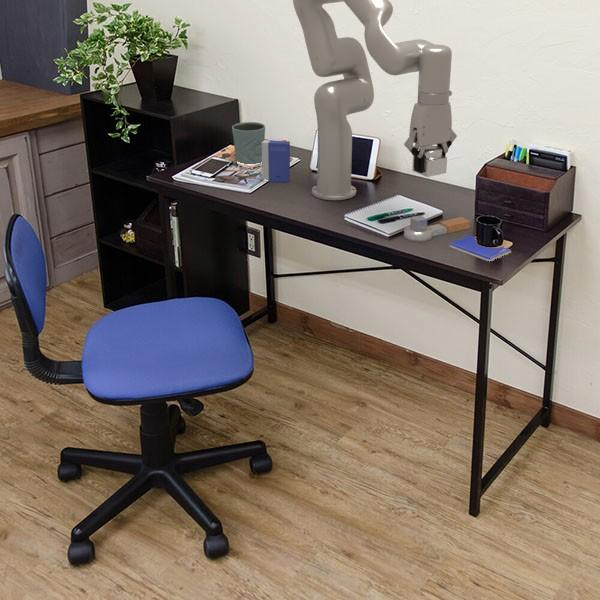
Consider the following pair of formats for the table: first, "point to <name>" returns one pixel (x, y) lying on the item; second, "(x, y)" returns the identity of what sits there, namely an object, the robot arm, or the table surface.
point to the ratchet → (432, 228)
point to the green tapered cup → (248, 142)
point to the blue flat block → (479, 249)
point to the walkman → (276, 160)
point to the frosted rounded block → (433, 161)
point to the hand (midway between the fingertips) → (429, 168)
